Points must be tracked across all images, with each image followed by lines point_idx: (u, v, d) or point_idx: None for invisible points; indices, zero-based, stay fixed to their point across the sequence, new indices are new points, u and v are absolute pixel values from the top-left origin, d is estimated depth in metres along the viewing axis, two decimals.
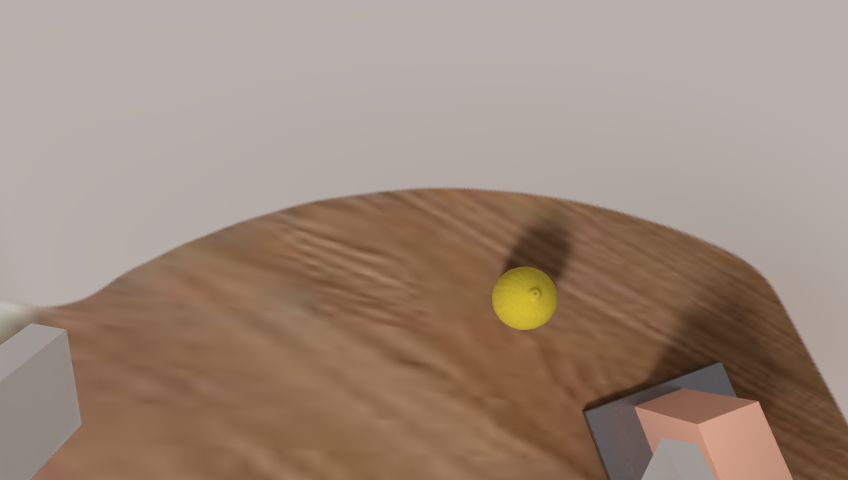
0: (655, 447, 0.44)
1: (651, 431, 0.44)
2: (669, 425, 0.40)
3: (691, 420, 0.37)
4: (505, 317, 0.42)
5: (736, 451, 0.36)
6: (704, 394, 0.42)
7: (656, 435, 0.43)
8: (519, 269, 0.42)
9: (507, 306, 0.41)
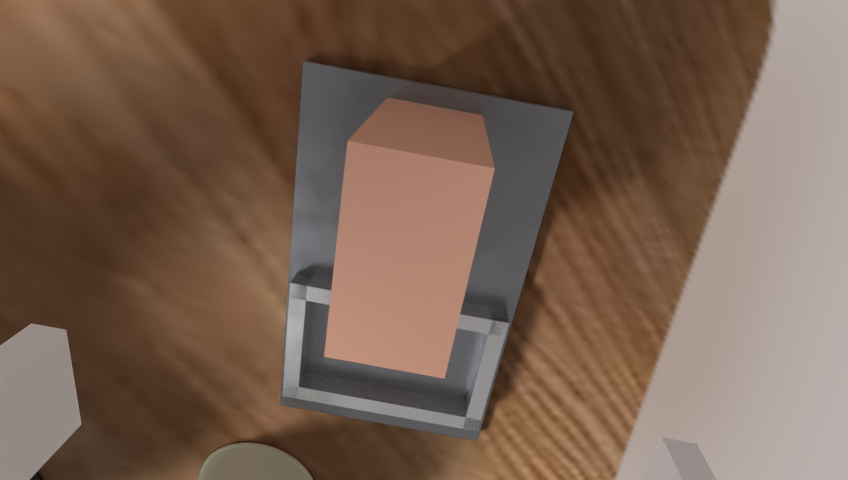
0: None
1: None
2: None
3: (365, 134, 0.18)
4: None
5: (393, 222, 0.18)
6: (476, 129, 0.22)
7: None
8: None
9: None
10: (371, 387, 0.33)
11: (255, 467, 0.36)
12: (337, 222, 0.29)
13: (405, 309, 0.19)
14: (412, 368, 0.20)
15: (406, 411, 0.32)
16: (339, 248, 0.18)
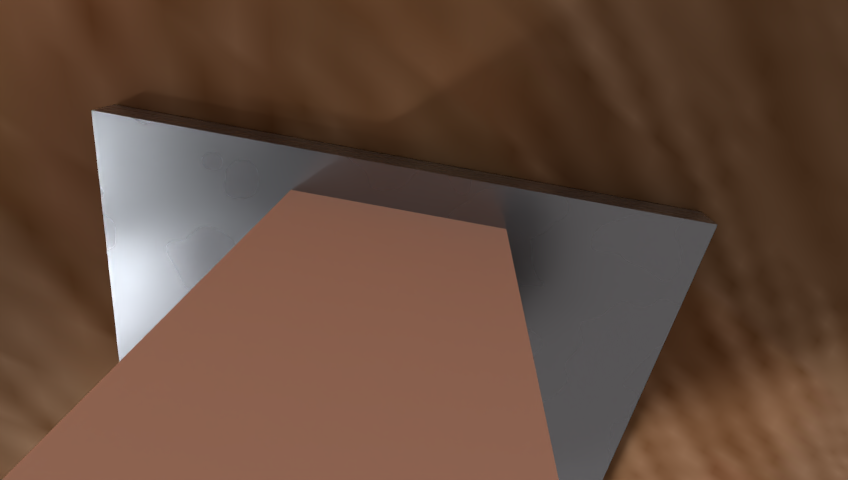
0: None
1: None
2: None
3: None
4: None
5: None
6: (499, 324, 0.08)
7: None
8: None
9: None
10: None
11: None
12: None
13: None
14: None
15: None
16: None
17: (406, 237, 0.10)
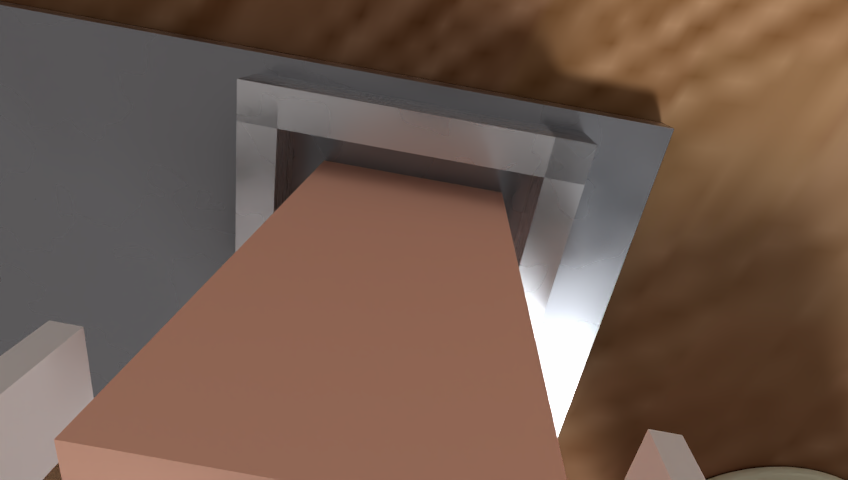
0: None
1: None
2: None
3: (167, 359, 0.06)
4: None
5: None
6: (495, 251, 0.10)
7: None
8: None
9: None
10: None
11: None
12: None
13: None
14: None
15: None
16: None
17: (420, 195, 0.12)
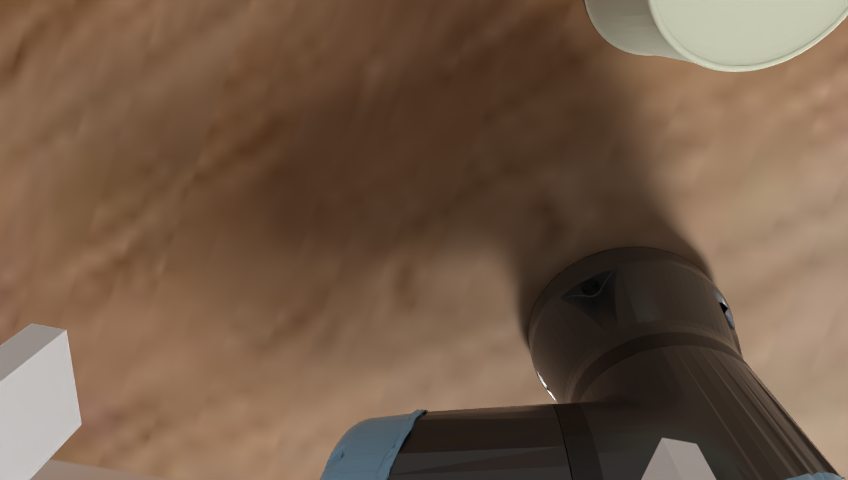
0: None
1: None
2: None
3: None
4: None
5: None
6: None
7: None
8: None
9: None
10: None
11: None
12: None
13: None
14: None
15: None
16: None
17: None
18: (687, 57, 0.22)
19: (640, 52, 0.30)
